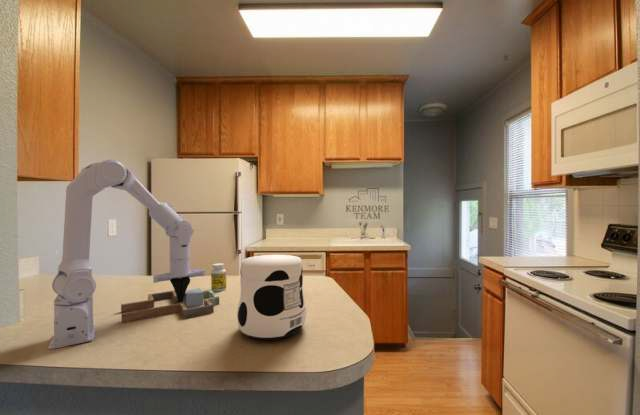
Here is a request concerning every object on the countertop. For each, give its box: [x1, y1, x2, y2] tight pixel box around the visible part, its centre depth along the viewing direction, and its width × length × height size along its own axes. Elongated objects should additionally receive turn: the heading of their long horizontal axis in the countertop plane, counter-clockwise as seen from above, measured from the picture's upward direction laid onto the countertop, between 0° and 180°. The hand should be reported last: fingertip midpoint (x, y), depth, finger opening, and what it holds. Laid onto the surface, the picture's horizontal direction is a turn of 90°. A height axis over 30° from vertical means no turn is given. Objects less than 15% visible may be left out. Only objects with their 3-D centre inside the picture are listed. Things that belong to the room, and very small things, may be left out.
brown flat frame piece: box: [120, 289, 220, 323], centre depth 91 cm, size 23×26×2 cm
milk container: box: [236, 254, 307, 341], centre depth 75 cm, size 17×17×18 cm
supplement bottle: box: [210, 262, 227, 292], centre depth 110 cm, size 5×5×10 cm
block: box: [182, 288, 204, 309], centre depth 94 cm, size 5×5×4 cm
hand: (180, 301), depth 92 cm, fingers closed
